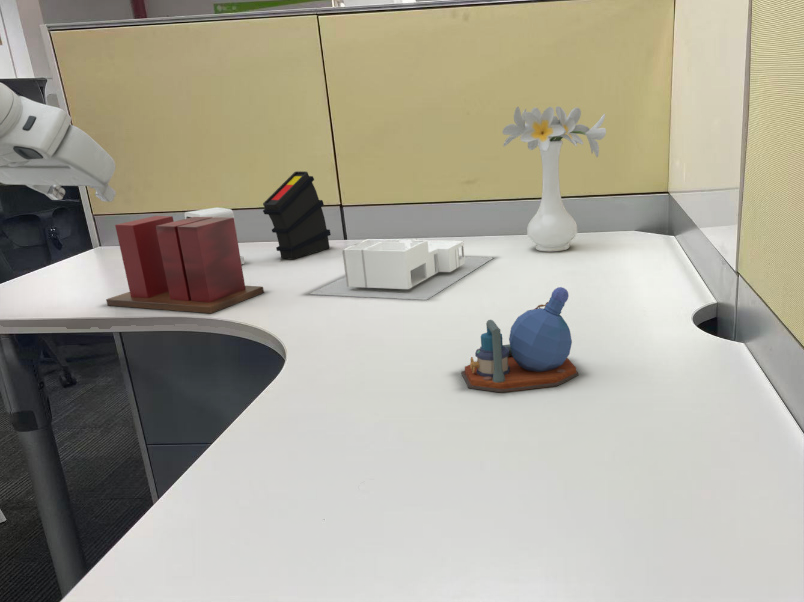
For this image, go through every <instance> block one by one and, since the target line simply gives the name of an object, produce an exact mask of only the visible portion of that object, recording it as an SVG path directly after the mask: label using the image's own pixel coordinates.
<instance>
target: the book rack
mask: <svg viewBox="0 0 804 602" xmlns="http://www.w3.org/2000/svg"><path fill="white" fill-rule="evenodd" d="M234 219H235V217H234V218H226V217H214V218H213V217H191V218H187V219H185V218H184V219H180V220H175V221H174V222H170V223H166V224H162V225H158V226H156V231H157V236H158V240H159V245H160V250H161V255H162V260H163V265H164V270H165V275H166V280H167V285H168V290H169V291H168V292H165V293H162V294H159V295H156V296H153V297H150V298H140V297H131V295H130V291H127V292H124V293H121V294H118V295H115V296H111V297H108V298H106V305H107V306H110V307H124V308H137V309H150V310H162V311H175V312H188V313H189V312H190V313H199V314H200V313H201V314H214V313H216V312H218V311H219V312H220V311H221V310H223V309H226V308H229V307H231V306H234V305H237V304H239V303H240V302H244V301H247V300H249V299H252V298H254V297H256V296H259V295H262V294H264V293H265V291H264V286H261V285H260V286H259V285H246V283H245V277H244V272H243V264H241V258H240V256H241V253H240V247H239V239H238V240H237V237H238V233H237V234H236V231H237V227H236V228H235V225H236V221H235V222H234Z"/></svg>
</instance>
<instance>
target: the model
mask: <svg viewBox="0 0 804 602" xmlns="http://www.w3.org/2000/svg"><path fill="white" fill-rule="evenodd" d="M568 300H569V292H568V289H566V288H565V287H562V286H560V287H559V286H557V288H555V289H554V290H553V291H552V292H551V295H550V297H549V300H548V301H546V302H545V304H538V305H537V306H536V307H535V308H532V309H529V310H526V311H525V312H523V313H522V314H520V315H519V316H517V317H516V319H515V321H514V322H513V324H512V325H511V327H510V332H509V337H508V341H509V344H503V333H501V329H500V328H499V326H498V325H497V324H496V322H495V321H494V320H493V319H488V320H487V321H486V323H485V324H486V332H484V333H481V334H480V347H479V348H477V349H476V350H475V357H476V359H477V360H476V361H475V360H474V357H473V356H470V362H469V364H468V365H465V366H464V370H461V372H460V374H461V377H463V380H464V382H465V384H466V386H467V388H468V389H473V390H480V391H487V392H493V393H507V392H508V393H510V392H518V391H526V390H527V391H528V390H535V389H543V388H552V387H558V386H560V385H562V384H564V383H566V382H568V381H570V380H572V379H574V378H576V377H577V376H579V371H578V370H577V367H576V366H575V364H574V363H573V362H572V361H571V360H570V359H569V358H568V357H569V356H570V353H571V348H572V345H573V340H572V334H571V330H570V327H569V325H568V323H567V322H566V321H565V319H564V317H563V316H562V315H561V314H562V310H563V308H564V307H565V305H566V302H567V301H568ZM543 307H544V308H543Z"/></svg>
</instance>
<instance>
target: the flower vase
mask: <svg viewBox="0 0 804 602" xmlns="http://www.w3.org/2000/svg"><path fill="white" fill-rule="evenodd" d="M555 114H556V115H555ZM581 116H582V111H581V109H580V108H579V107H574V108H572V109H571V111H570V112H569V113H568V115H567V113H566V111H565V110H564V109H563V108H562V107H561V106H559V105H558V106H555V109H554V107H551V106H548V107H547V108H545V109H544V111H542V112H541V110H540V109H539V108H538V107H535V106H534V107H532V109H531V111H527V108H525V109H524V110H523V111H522V112H521V109H520V107H519V106H516V107H515V110H514V113H513V121H514V123H509V124H507V125H505V127H504V128H503V129H502V131H501V132H502V135H506V136H507V138H506V139H505V140H504V142H503V144H502V146H503V147H506V146H507V145H509V144H510V143H511V142H512V141H513V140H516V138H518V137H520V138H519V140H520V141H521V142H523V143H527V149H528V150H530V151H533V150H535V149H536V148H538V149H539V153H540V159H541V169H542V172H541V173H542V175H541V176H542V183H541V185H542V187H541V189H542V190H541V198H540V199H541V200H540V204H539V207H538V209H537V211H536V213H534V215H533V216H532V218H531V219H530V220H529V222H528V224H527V226H526V227H527V228H526V235H527V237H528V238H529V240H530V241H531V242H532V243H534V244H535V249H536V250H537V251H540V252H545V253H546V252H549V253H552V252H554V253H555V252H561V251H566V250H569V248H570V243H571V242H573V240H574V239H575V238H576V236H577V235H578V232H579V230H578V225H577V222H576V220H575V218H574V217H573V216H572V215H571V214H570V213H569V212H568V211H567V209H566V208H565V207H566V206H565V204H564V203H563V199H562V195H561V186H560V185H561V184H560V164H559V163H560V155H561V148H562V146H563V139H565V140H567V141H569V142H570V143H571V144H572V145H573V146H575V147H578V144H580V145H584V141H583V140H582V138H581V137H580V136H579V135H584V136H586V138H587V141H588V144H589V148H590V152H591V154H594V155H595V158H598V157H599V155H600V145H599V142H598V141H601V140H603V139H604V138H605V137H606V134H607V129H606V127H601V126H602V125H603V123H604V120H605V118H606V113H603V114H602V116H601V117H600V118H599V119H598V121H597V122H595V124H594V125H592V127H591V128H589V126H587V125H585V124H583V123H578V122H579V121H580V119H581Z"/></svg>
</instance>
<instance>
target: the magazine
mask: <svg viewBox="0 0 804 602" xmlns="http://www.w3.org/2000/svg"><path fill="white" fill-rule="evenodd" d="M314 181H315V178H314V176H313V175H309V173H308V171H303V170H302V171H299V170H297V171H294V172H293V173H292V174H291V175H290V176H288V178H287V179H286V180H285V181H284V182H283V183H282V184H280V186H279V187H278V188H277V189H276V190H275V191H273V193H272V194H271V195H270V196H269V197H268V198H266V200H264V202H263V203H262V205H263V207H264V209H262V212H263V214H264V215H268V217H269V219H270V220H271V222H272V225H273V228H272V229H271V233H272V234H276V238H277V242H278V246H276V247H275V248H276V251H277V252H279V255H280V258H281V259H283V260H295V259H298V258H303V257H305V256H308V255H311V254H314V253H318V252H321V251H325V250H328V249H330V240H329V237H330V236H331V235H332V234H331V229H329V228H327V223H326V218H325V214H324V211H323V209H322V207H324V205H325V204H324V201H323V200H322V199H320V198H319V196H318V193H317V189H316V187H315V185H314V183H313V182H314Z"/></svg>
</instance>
